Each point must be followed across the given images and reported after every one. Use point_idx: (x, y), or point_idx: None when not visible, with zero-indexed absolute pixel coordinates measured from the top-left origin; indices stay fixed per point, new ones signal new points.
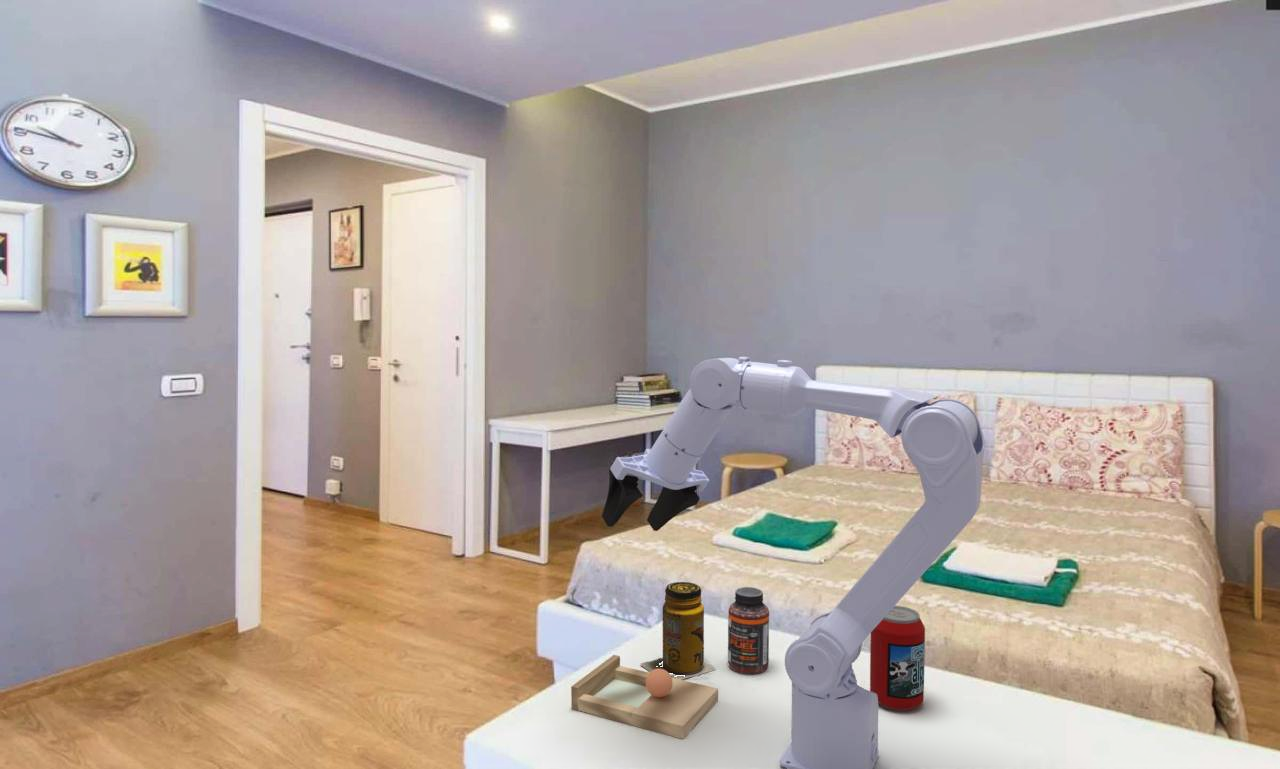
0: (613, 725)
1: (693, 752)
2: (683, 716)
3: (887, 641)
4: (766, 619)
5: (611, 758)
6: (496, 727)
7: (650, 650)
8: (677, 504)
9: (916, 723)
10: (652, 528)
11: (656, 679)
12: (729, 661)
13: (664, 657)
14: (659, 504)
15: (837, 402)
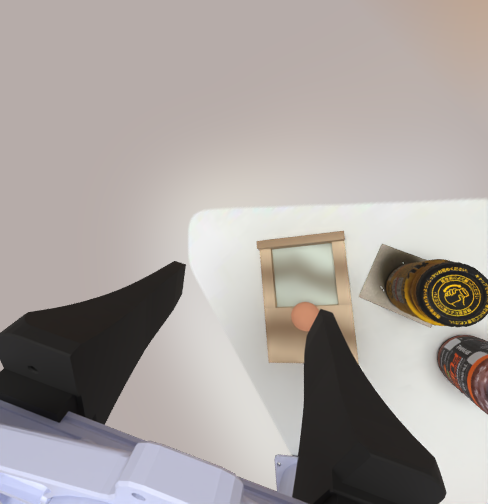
0: (258, 292)
1: (258, 375)
2: (284, 355)
3: None
4: None
5: (218, 319)
6: (207, 213)
7: (430, 229)
8: (300, 455)
9: None
10: (309, 330)
11: (293, 320)
12: (446, 344)
13: (392, 274)
14: (324, 363)
15: None
